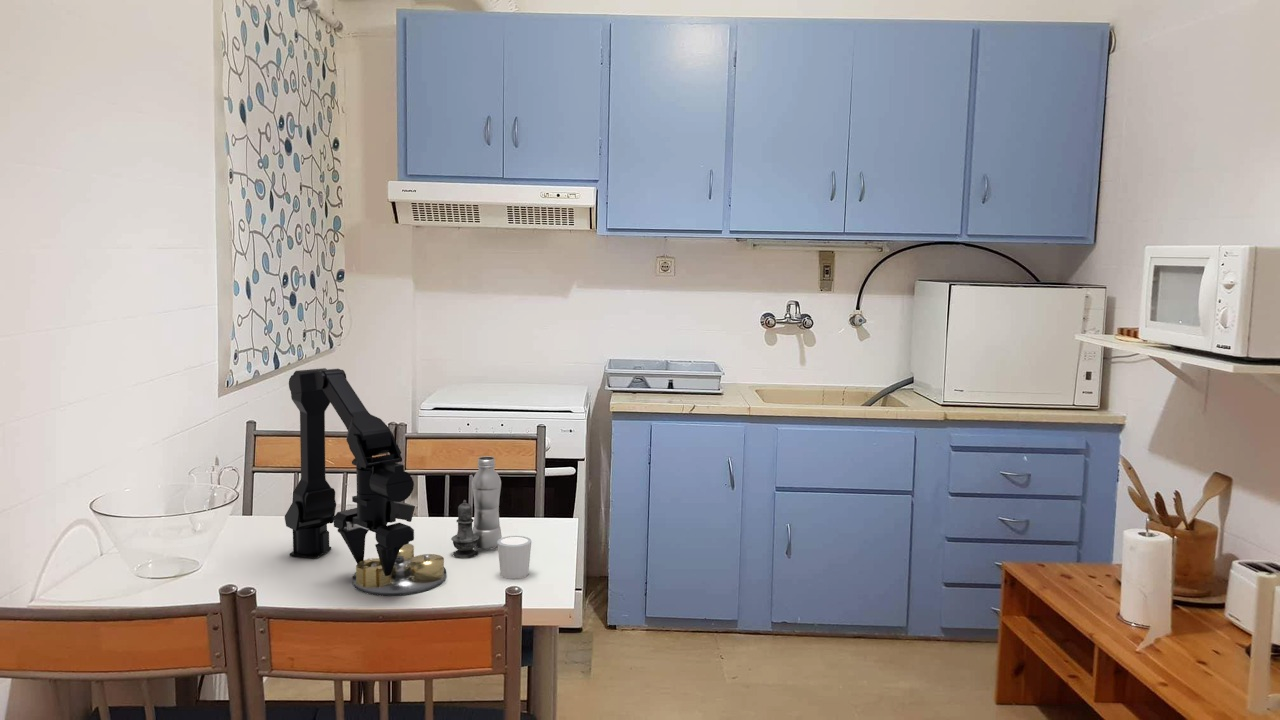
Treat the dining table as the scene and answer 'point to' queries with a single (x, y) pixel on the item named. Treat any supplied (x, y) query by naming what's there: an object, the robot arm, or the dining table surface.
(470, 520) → the salt shaker
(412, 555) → the carrier
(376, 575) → the gear
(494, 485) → the plastic bottle
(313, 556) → the robot arm
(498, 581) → the dining table surface
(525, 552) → the shot glass
